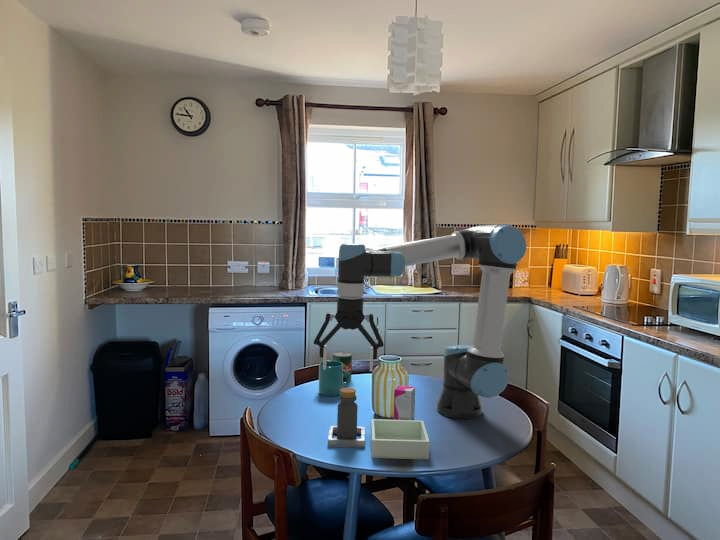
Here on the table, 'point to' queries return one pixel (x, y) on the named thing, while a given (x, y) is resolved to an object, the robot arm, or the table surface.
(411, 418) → the supplement box
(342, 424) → the bottle
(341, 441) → the collar
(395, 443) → the bin
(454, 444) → the table surface
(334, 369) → the cup
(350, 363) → the canned tomato
